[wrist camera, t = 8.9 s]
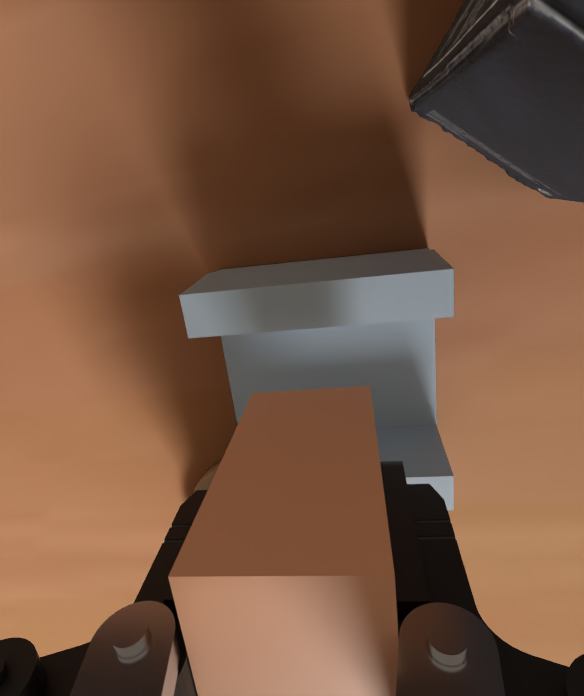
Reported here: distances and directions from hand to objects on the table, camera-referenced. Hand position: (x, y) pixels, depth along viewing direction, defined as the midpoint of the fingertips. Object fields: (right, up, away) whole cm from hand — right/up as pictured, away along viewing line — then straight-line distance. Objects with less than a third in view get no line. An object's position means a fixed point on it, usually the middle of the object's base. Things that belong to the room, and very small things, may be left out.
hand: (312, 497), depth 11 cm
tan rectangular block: (0, +1, +2) cm, 2 cm away
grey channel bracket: (+1, +3, +8) cm, 9 cm away
